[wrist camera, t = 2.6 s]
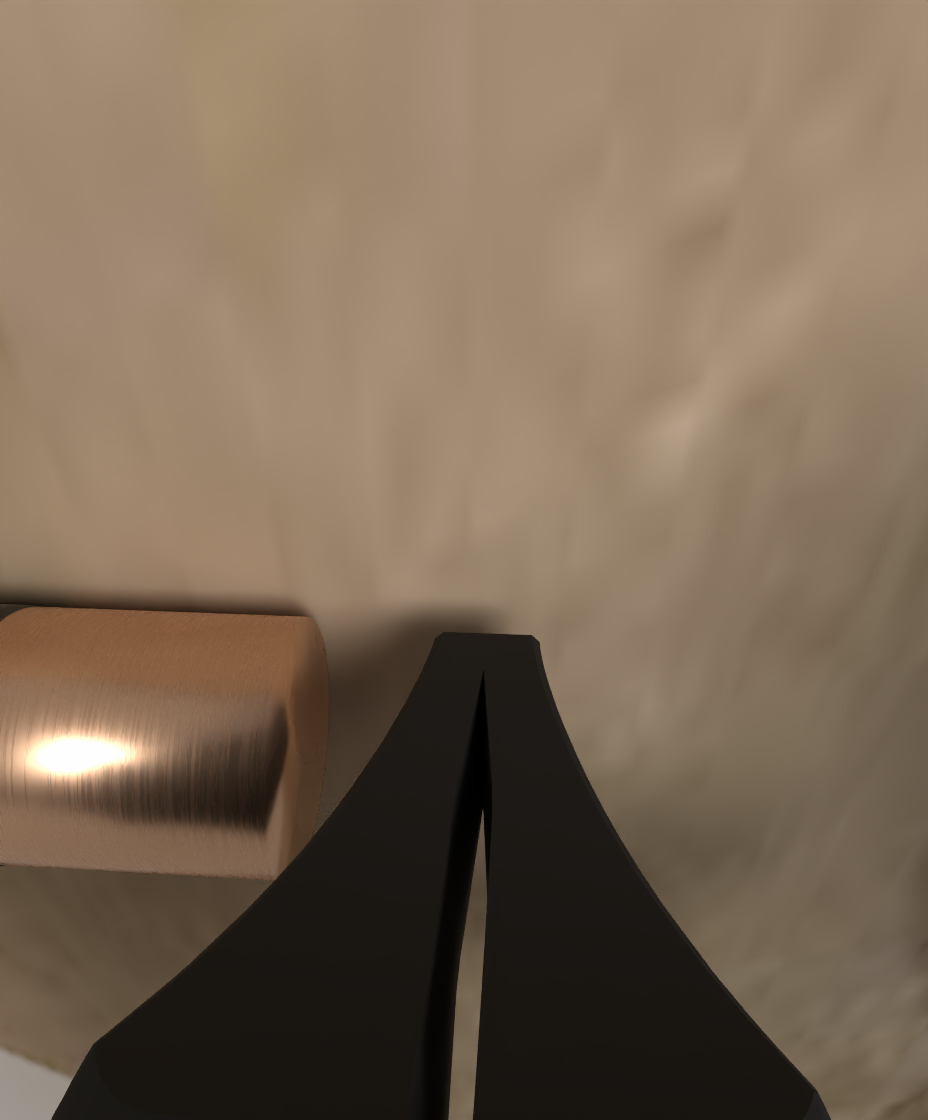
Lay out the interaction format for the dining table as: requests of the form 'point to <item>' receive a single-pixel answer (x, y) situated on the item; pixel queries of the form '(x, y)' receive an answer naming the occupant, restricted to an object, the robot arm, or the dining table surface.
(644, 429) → the dining table surface
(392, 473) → the dining table surface
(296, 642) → the tube
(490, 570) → the dining table surface
